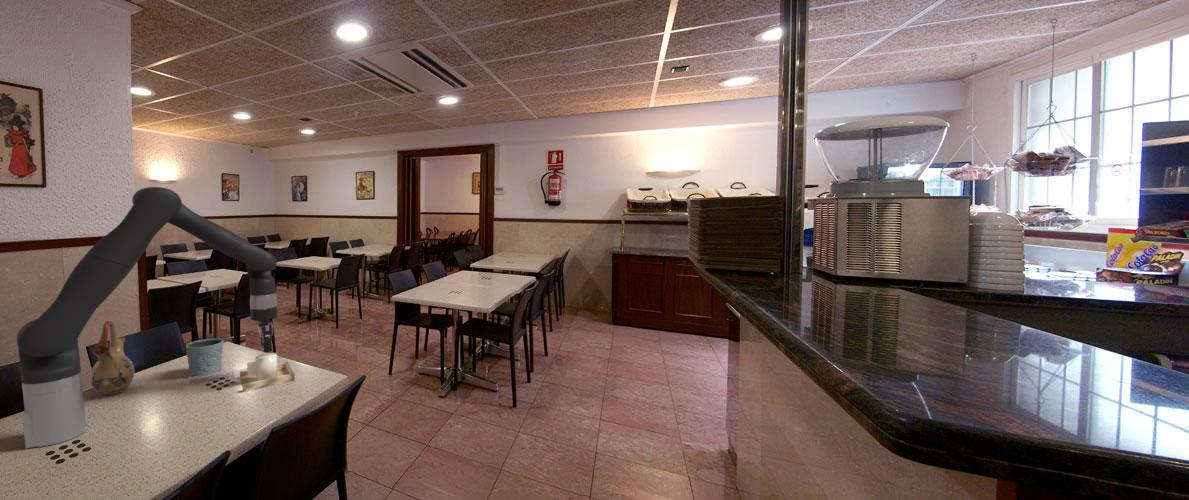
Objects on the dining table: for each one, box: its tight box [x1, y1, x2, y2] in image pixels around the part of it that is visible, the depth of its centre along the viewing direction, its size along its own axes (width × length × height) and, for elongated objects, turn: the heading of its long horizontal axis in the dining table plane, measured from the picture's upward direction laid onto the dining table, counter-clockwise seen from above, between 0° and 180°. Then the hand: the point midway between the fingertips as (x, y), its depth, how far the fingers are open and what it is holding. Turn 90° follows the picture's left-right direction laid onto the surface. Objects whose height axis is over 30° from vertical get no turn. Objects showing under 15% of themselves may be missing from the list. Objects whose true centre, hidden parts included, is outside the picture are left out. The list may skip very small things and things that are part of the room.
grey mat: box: [232, 367, 247, 381], centre depth 147 cm, size 10×10×1 cm
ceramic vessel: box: [89, 320, 135, 396], centre depth 128 cm, size 16×9×25 cm, turn 37°
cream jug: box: [246, 352, 278, 381], centre depth 140 cm, size 8×6×9 cm
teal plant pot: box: [185, 338, 224, 378], centre depth 146 cm, size 10×10×12 cm
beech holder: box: [239, 361, 295, 393], centre depth 142 cm, size 14×15×3 cm
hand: (266, 348), depth 141 cm, fingers open, 8 cm apart
